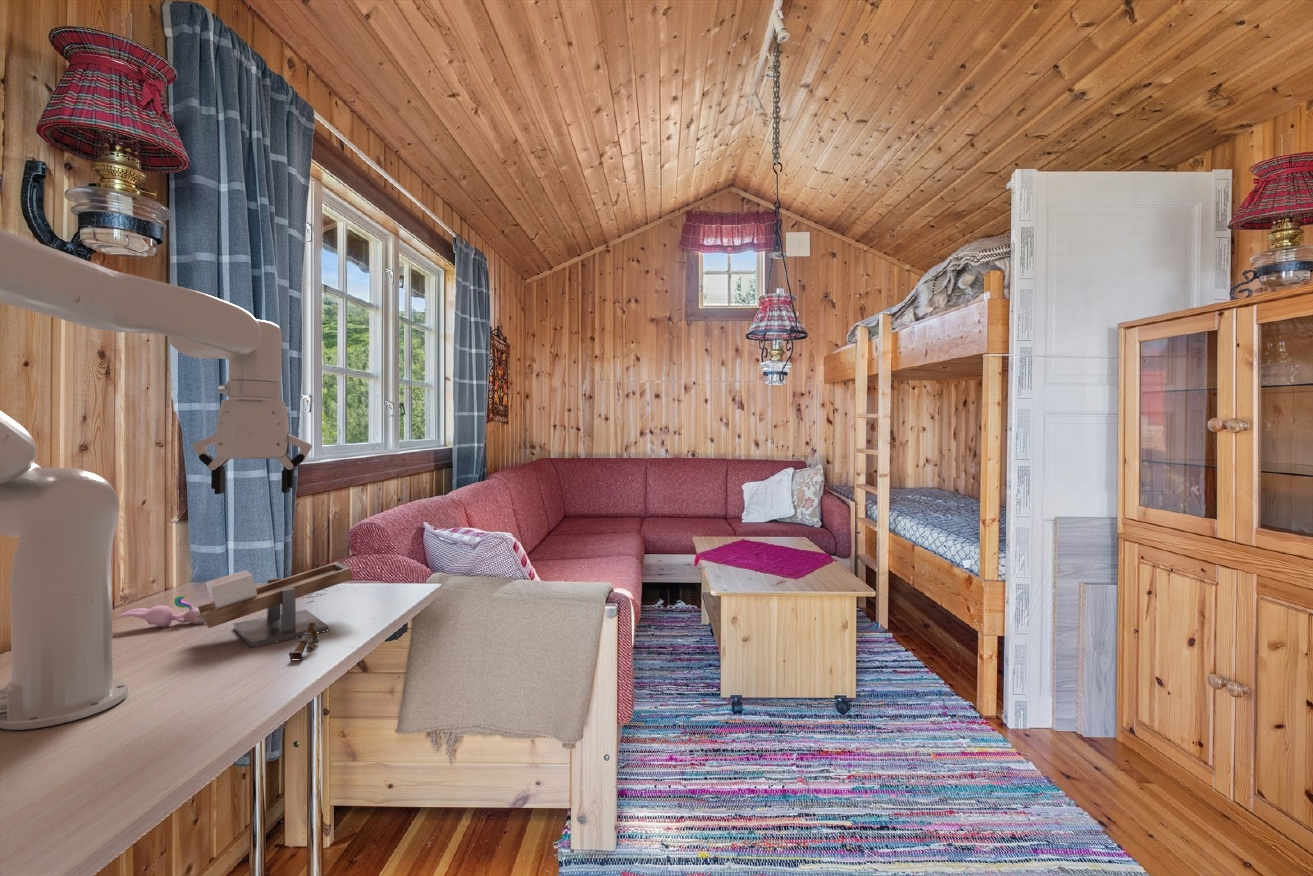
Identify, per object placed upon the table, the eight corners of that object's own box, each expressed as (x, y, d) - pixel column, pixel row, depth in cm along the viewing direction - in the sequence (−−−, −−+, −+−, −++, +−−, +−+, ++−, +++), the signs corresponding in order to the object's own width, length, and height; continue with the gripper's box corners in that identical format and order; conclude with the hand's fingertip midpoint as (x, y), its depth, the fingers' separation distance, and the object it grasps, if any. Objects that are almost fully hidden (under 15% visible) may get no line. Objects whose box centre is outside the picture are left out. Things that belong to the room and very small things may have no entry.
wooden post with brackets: (324, 637, 105) (320, 617, 103) (306, 673, 98) (300, 651, 96) (313, 638, 105) (308, 617, 103) (294, 673, 97) (288, 652, 96)
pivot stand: (250, 648, 102) (250, 597, 102) (233, 628, 112) (233, 582, 112) (328, 631, 111) (328, 584, 110) (306, 614, 121) (305, 572, 120)
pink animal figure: (218, 623, 120) (122, 621, 114) (223, 593, 120) (128, 589, 114) (209, 633, 114) (108, 631, 108) (215, 601, 114) (115, 597, 108)
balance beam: (208, 628, 100) (205, 615, 100) (200, 617, 106) (197, 605, 106) (353, 579, 116) (351, 568, 116) (339, 572, 122) (337, 561, 122)
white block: (218, 615, 103) (211, 587, 102) (212, 609, 106) (205, 582, 106) (258, 601, 107) (252, 575, 106) (252, 596, 110) (245, 570, 110)
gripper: (186, 389, 97) (183, 495, 97) (308, 393, 103) (306, 493, 103) (202, 392, 104) (200, 492, 104) (316, 396, 110) (314, 490, 110)
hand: (253, 492), depth 104 cm, fingers open, 9 cm apart
